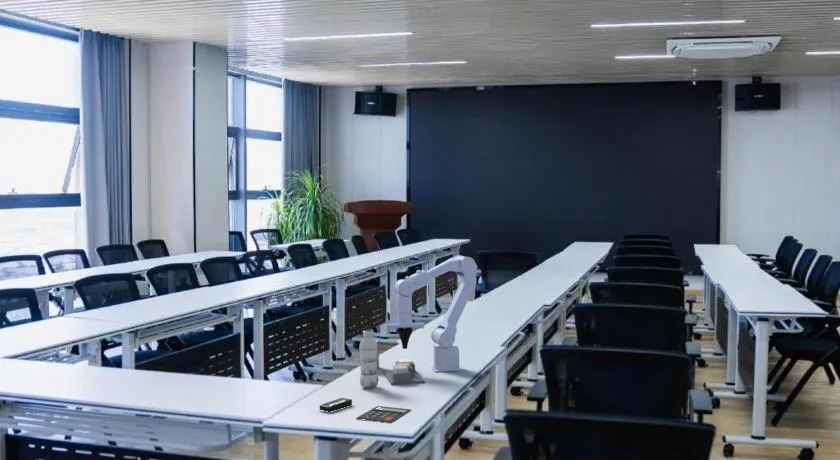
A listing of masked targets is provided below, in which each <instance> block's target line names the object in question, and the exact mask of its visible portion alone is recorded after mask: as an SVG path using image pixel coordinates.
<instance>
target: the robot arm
mask: <svg viewBox="0 0 840 460" xmlns="http://www.w3.org/2000/svg"><path fill="white" fill-rule="evenodd" d="M477 270H478V265H477V263H476V262H475V259H474V258H473V257H470V256H463V255H460V254H458V255H455V256H454V257H451V258H448V259H447V260H445V261H442V262H441V263H440V264H438V265H436V266H434V267H432V268H430V269H429V270H424V269H422V270H420V269H418V270H416V272H415V273H413V274H410V276H409V275H407V276H405V277H404V278H405V279H399V280H397V281H396V282H395V284H394V286H393V290H394V292H395V294H396V300H395V301H396V303H395V305H396V322H395V323H385V324H384V330H385V331H389V330H396V332H397V334H398V336H399V339H400V342H401V345H402V349H403V350H407V349H408V344H409V341H410V338H411V336H412V333H413V329H421V330H422V329H425V323H424V322H413V305H412V304H413V302H412V301H413V300H412V298H413V297H412V295H413V293H414V292H416V291H417V290H419V289H422V288H424V287H425V286H428V285H429V284H430V282H431V281H432V280H433V279H434V278H437V277H439V276H441V275H444V274H445V273H448V272H455V273H456V274H457V275H458V278H459V280H460V283H459V285H458V288H457V289H456V292H455V294H454V296H453V299H452V301H451V303H450V305H449V307H448V309H447V311H446V313H445V316H444V317H443V319H441V320H440V321H439V322H438V324H437V326H436V327H434V328H433V330H432V331H431V333H430V334H431V335H430V337H431V340H432V341H433V342H434V343H433V366H431V369H432V370H433V371H434V372H435V373H441V372H457V371H458V372H459V371H461V369H460V349H459V347H458V345H454V344H455V341H456V334H457V332H458V331H457V325H458V322H459V320H460V318H461V316H462V314H463V311H464V309H465V307H466V305H467V303H468V302H469V299H470V297H471V295H472V293H473V291H474V289H475V287H476V284H477Z"/></svg>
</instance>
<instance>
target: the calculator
mask: <svg viewBox="0 0 840 460" xmlns="http://www.w3.org/2000/svg"><path fill="white" fill-rule="evenodd" d="M378 407H381V408H380V409H382V408H383V409H382V410H380V409H376V408H378ZM411 411H412V410H411V409H409V408H402V407H400V408H399V407H394V406H393V407H391V406H390V407H389V406H381V405H377V406H375V407H373V408H371V409H369V410H368V411H366V412H364V413H362V414H361V415H359V416H357V417H356V420H357V419H365V420H364V421H366V420H373V421H372V422H375V421H380V422H379V423H384V422H387V423H386V424H392V423H393V422H395V421H398V420H399V419H400V418H402V417H403V416H405V415H406V414H408V413H409V412H411Z"/></svg>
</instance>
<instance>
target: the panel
mask: <svg viewBox="0 0 840 460" xmlns="http://www.w3.org/2000/svg"><path fill="white" fill-rule="evenodd" d="M396 364H399V363H398V361H395V365H396ZM395 365H393V366H392V367H393V369H385V370H382V374H383V376H385V378H386V379H387V381H388V383H389V384H390V385H391V386H393V385H395V386H396V385H398V386H399V385H410V384H426V383H425V382H426V381H425V379H424V378H423V377H422V376H421V375H420V374H419V371H417V370H416V364H415V362H413V361H412V364H409V365H410V368H409V369H408V373H399V374H395V373H394V366H395Z"/></svg>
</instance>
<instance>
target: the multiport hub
mask: <svg viewBox="0 0 840 460" xmlns="http://www.w3.org/2000/svg"><path fill="white" fill-rule="evenodd" d="M350 405H352V406H353V400H352V399H351V398H344V397H340V398H337V399H334V400H330V401H329V402H324V403H321V404H320V405H319V411H320V410H324V411H328V412H331V411H334V410H338V409H341V408H344V407H347V406H349V407H351V406H350ZM347 408H348V407H347ZM344 409H345V408H344ZM341 410H342V409H341ZM338 411H339V410H338Z"/></svg>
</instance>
